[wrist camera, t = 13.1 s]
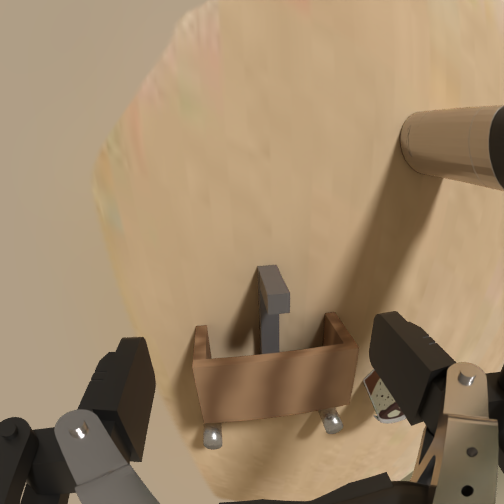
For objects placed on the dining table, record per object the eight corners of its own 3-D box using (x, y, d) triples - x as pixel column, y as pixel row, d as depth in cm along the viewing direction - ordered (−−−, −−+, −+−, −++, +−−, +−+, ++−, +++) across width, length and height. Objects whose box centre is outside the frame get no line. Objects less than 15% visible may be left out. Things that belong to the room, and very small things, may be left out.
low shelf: (334, 312, 45) (359, 347, 36) (329, 365, 48) (349, 404, 39) (196, 326, 44) (192, 367, 35) (205, 379, 47) (204, 423, 38)
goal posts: (333, 397, 51) (344, 420, 45) (332, 409, 52) (342, 431, 46) (202, 413, 49) (202, 439, 43) (205, 424, 50) (205, 449, 44)
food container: (375, 396, 52) (397, 432, 43) (356, 386, 51) (377, 424, 41) (421, 349, 50) (450, 380, 41) (405, 335, 48) (435, 368, 39)
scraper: (303, 262, 42) (324, 289, 34) (300, 369, 48) (314, 407, 40) (228, 268, 42) (231, 297, 33) (237, 376, 47) (241, 416, 39)
